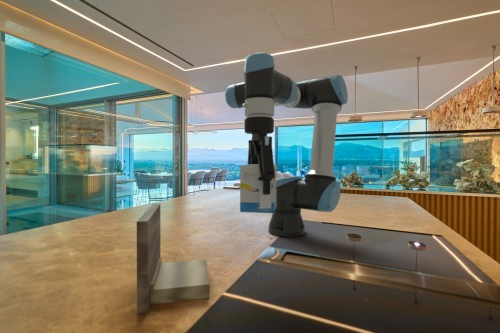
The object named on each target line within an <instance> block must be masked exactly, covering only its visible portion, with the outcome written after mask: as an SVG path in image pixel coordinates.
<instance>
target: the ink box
mask: <svg viewBox="0 0 500 333" xmlns="http://www.w3.org/2000/svg"><path fill="white" fill-rule="evenodd" d="M277 167H278V166H277V164H274V171H275V178H272V180H271V208H261V209H260V208H259V181H258V178H259V177H261V176H260V170H259V164H250V165H247V164H241V165H240V175H239V176H240V177H239V178H240V180H239V182H240V184H239V185H240V186H239V187H240V189H239V194H240V195H239V197H240V198H239V211H240V213H254V214H255V213H259V214H273V213H274V211H275V209H276V178H277V170H278V169H277Z"/></svg>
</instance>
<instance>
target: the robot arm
mask: <svg viewBox="0 0 500 333" xmlns="http://www.w3.org/2000/svg"><path fill="white" fill-rule="evenodd" d="M243 75H244V80H243V82H240V83H234V84H231V85H229V86H228V87H227V88H225V89H226V90H225V94H224V96H225V102H226V104H227V105H228V106H229V107H230V109H231V108H232V109H242V108H244V116H245V117H246V118H244V133H245V134H247V135H248V134H249V135H251V139H248V152H247V153H248V155H247V164H246V165H250V164H259V170H260V176H261V177H259V178H258V181H259V208H260V209H261V208H271V180H272V178H275V171H274V165H275V164H274V155H273V154H274V151H273V137H272V136H268V135H270V134H271V135H272V134H273V133H274V131H275V119H274V118H273V117H274V116H275V107H280V106H284V108H288V109H311V111H312V112H313V113H314V118H313V119H314V120H313V129H312V143H311V151H310V152H311V153H310V162H309V163H310V164H309V171H308V172H306V173H305V174H304V179H303V178H302V176H301V175H297V176H287V177H284V176H283V177H276V209H275V211H274V213H271V214H272V215H271V217H270V220H269V223H268V233H270V234H271V235H273V236H276V237H282V238H283V237H285V238H288V237H290V238H293V237H294V238H295V237H301V236H304V235H305V234H306V227H305V223H304V220H303V216H302V213H301V211H302V210H307V211H313V212H314V211H315V212H320V213H322V212H323V213H331V212H333V211H334V210H335V209H336V207H337V206H338V205H339V201H340V199H341V191H342V190H341V184H340V182H339V181H337V176H336V175H335V174H334V173H333V171H334V170H333V169H334V159H335V158H334V155H335V143H336V132H337V117H338V114H339V113H341V112H342V107H343V106H342V105H346V104H348V100H349V99H348V95H349V94H348V88H347V84H346V81H345V79H344V77H343V76H342V75H340V74H335V75H331V74H330V75H328V76H324V77H319V78H313V79H307V80H304V81H299V82H295V81H294V80H293V79H292V78H291V77H289V76H288V75H286V74H283V73H281V72H280V71H277V70H276V69H275V60H274V57H273V56H272V55H271V54H270V53H268V52H267V53H266V52H255V53H254V52H253V53H252V54H249V55H247V56H246V57H245V59H244V72H243Z"/></svg>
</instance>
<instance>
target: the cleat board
mask: <svg viewBox="0 0 500 333" xmlns="http://www.w3.org/2000/svg"><path fill="white" fill-rule="evenodd" d="M162 260H163V258H161V203H152V204H151V205H150V206H149V207H148V208H147V209H146V210H145V211H144V213H143V214H142V215H141V216H140V217H139V218H138V220H137V221H136V315H137V316H139V315H147V314H149V311H150V309H151V305H160V304H168V303H169V304H170V303H179V302H185V301H194V300H202V299H203V300H205V299H210V297H211V296H210V286H211V285H210V284H211V283H210V278H209V270H208V264H207V259H204V258H203V259H192V260H179V261H169V262H168V261H167V262H162Z"/></svg>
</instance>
